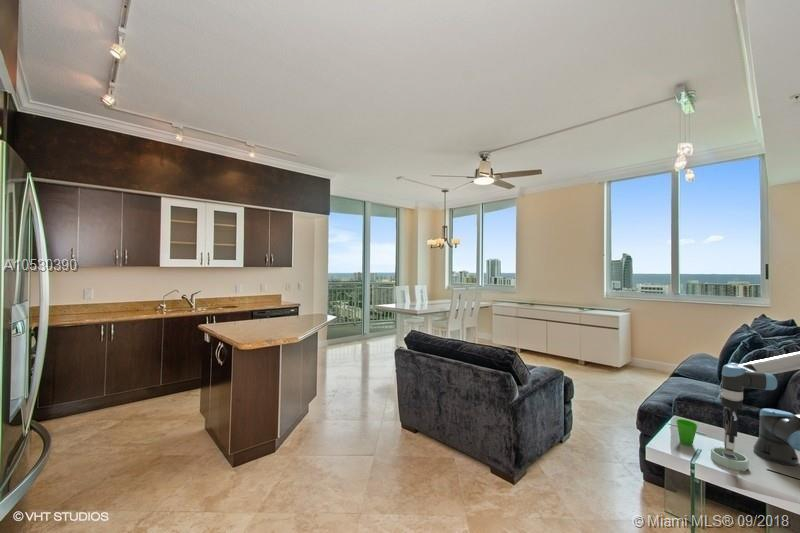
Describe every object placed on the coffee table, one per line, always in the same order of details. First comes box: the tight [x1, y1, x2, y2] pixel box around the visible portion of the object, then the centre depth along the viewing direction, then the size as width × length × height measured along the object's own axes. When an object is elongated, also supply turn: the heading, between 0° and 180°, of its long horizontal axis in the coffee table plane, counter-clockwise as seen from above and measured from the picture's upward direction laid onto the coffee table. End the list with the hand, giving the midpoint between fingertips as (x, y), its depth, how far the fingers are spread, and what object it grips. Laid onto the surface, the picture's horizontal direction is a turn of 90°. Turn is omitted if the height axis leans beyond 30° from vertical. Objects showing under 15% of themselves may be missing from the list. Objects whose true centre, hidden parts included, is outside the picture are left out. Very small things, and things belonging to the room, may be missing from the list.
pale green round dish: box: [710, 446, 750, 471], centre depth 166 cm, size 13×13×4 cm
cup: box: [675, 418, 699, 446], centre depth 183 cm, size 9×9×11 cm
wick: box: [724, 424, 734, 452], centre depth 166 cm, size 2×2×12 cm
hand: (729, 447), depth 166 cm, fingers closed on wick, 2 cm apart
